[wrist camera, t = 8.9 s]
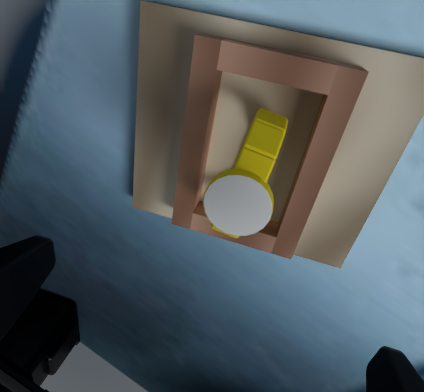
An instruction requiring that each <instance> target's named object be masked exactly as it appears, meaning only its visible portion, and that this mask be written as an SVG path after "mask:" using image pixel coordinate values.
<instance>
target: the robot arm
mask: <svg viewBox="0 0 424 392" xmlns="http://www.w3.org/2000/svg"><path fill="white" fill-rule="evenodd" d="M55 261H56V258H55V251H54V244H53V241H52V240H51V239H50V238H47V237H44V236H40V235H36V236H33V237H30V238H27V239H24V240H21V241H19V242H16V243H13V244H10V245H8V246H5V247H2V248H0V392H49V391H47V390H46V389H45V390H44V389H42V388H41V387H40V385H41V384H42V383H43V381H44V380H45V378H46V377H47V376H48V374H49V375H53V374H55V373H56V371H57V370H58V369H59V367H60V365H61V364H62V363H63V361H64V360H65V358H66V357H67V356H68V354H69V353H70V351H71V350H72V348H73V347H74V345H77V344H78V343H79V342H80V335H79V325H78V315H77V306H76V304H75V303H73V302H71V301H68V300H65V299H62V298H59V297H57V296H54V295H51V294H48V293H45V292H42V291H39V288H40V287H41V285H42V284H43V282H44V281H45V279H46V278H47V277H48V275H49V274H50V272H51V271H52V269H53V267H54V265H55ZM366 392H424V380H423V379H422V377H421V376H420V375H419V373H418V372H417V371H416V369H415V368H414V367H413V365H412V364H411V363H410V361H409V360H408V359H407V357H406V356H405V355H404V354H403V353H402V352H401V351H399V350H396V349H393V348H390V347H387V346H383V347H381V348H380V349H379V350H378V352H377V353H376V354H375V356H374V357H373V358H372V359H371V361H370V362H369V363H368V366H367V369H366Z"/></svg>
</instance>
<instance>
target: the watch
mask: <svg viewBox="0 0 424 392" xmlns="http://www.w3.org/2000/svg"><path fill="white" fill-rule="evenodd" d="M287 124H288V120H287V118H286V117H283V116H281V115H278V114H276V113H273V112H271V111H268V110H265V109H263V108H260V109H258V111H257V113H256V115H255V118H254V120H253V122H252V124H251V127H250V129H249V131H248V134H247V136H246V139H245V141H244V143H243V146H242V148H241V150H240V153H239V155H238V158H237V160H236V163H235V165H234V167H233V169H228V170H225V171H223V172H220V173H219V174H217V175H216V176H215V177H214V178H213V179H212V180H211V182H210V183H209V185H208V187H207V189H206V190H205V192H204V197H203V207H204V212H205V214H206V216H207V217H208V219H209V221H210V222H211V228H212V229H214V230H217V231H219V232H222V233H224V234H226V235H229V236H231V237H234V238H239V237H240V236H247V235H251V234H254V233H257V232H258V231H260V230H261V229H263V228H264V227H265V226H266V224H267V223H268V222H269V221H270V219H271V215H272V212H273V206H274V199H273V193H272V191H271V188H270V186H269V184H268V183H267V181H268V178H269V176H270V173H271V171H272V169H273V166H274V164H275V160H276V158H277V156H278V153H279V150H280V148H281V145H282V142H283V139H284V136H285V133H286V129H287Z"/></svg>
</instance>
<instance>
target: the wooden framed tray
mask: <svg viewBox="0 0 424 392" xmlns="http://www.w3.org/2000/svg"><path fill="white" fill-rule="evenodd" d="M260 108H263V109H265V110H268V111H271V112H273V113H276V114H278V115H281V116H283V117H286V118H287V120H288V124H287V129H286V133H285V136H284V139H283V142H282V145H281V148H280V150H279V153H278V156H277V158H276V160H275V164H274V166H273V169H272V171H271V173H270V176H269V178H268V181H267V183H268V184H269V186H270V188H271V191H272V193H273V199H274V206H273V212H272V215H271V219H270V221H269V222H268V223H267V224H266V226H265V227H264V228H263V229H261V230H260V231H258V232H257V233H254V234H251V235H247V236H240V237H239V238H234V237H231V236H229V235H226V234H224V233H222V232H219V231H217V230H214V229H212V228H211V222H210V221H209V219H208V217H207V216H206V214H205V212H204V207H203V197H204V192H205V190H206V189H207V187H208V185H209V183H210V182H211V180H212V179H213V178H214V177H215V176H216V175H217V174H219V173H220V172H223V171H225V170H228V169H233V167H234V165H235V163H236V160H237V158H238V155H239V153H240V150H241V148H242V146H243V143H244V141H245V139H246V136H247V134H248V131H249V129H250V127H251V124H252V122H253V120H254V118H255V115H256V113H257V111H258V109H260ZM423 115H424V58H423V57H418V56H413V55H408V54H403V53H398V52H393V51H389V50H384V49H379V48H374V47H369V46H364V45H359V44H355V43H350V42H345V41H340V40H335V39H330V38H325V37H320V36H316V35H311V34H306V33H301V32H296V31H291V30H286V29H281V28H277V27H272V26H267V25H262V24H257V23H252V22H247V21H243V20H238V19H233V18H228V17H223V16H218V15H213V14H208V13H204V12H199V11H194V10H189V9H184V8H179V7H174V6H169V5H165V4H160V3H155V2H150V1H142V0H140V22H139V49H138V75H137V101H136V128H135V154H134V180H133V206H132V207H135V208H138V209H141V210H145V211H148V212H151V213H155V214H158V215H162V216H165V217H168V218H172V224H175V225H178V226H181V227H185V228H188V229H192V230H195V231H198V232H202V233H205V234H208V235H212V236H215V237H218V238H222V239H225V240H229V241H232V242H235V243H239V244H242V245H245V246H249V247H252V248H255V249H259V250H262V251H265V252H269V253H272V254H276V255H279V256H282V257H286V258H289V259H291V258H292V256H293V254H294V255H297V256H300V257H304V258H307V259H311V260H314V261H317V262H321V263H324V264H328V265H331V266H334V267H338V268H341V266H342V264H343V262H344V260H345V259H346V257H347V255H348V253H349V251H350V249H351V248H352V246H353V244H354V242H355V240H356V238H357V237H358V235H359V233H360V231H361V229H362V227H363V225H364V224H365V222H366V220H367V218H368V216H369V214H370V213H371V211H372V209H373V207H374V205H375V203H376V201H377V200H378V198H379V196H380V194H381V192H382V190H383V189H384V187H385V185H386V183H387V181H388V179H389V177H390V176H391V174H392V172H393V170H394V168H395V166H396V165H397V163H398V161H399V159H400V157H401V155H402V154H403V152H404V150H405V148H406V146H407V144H408V142H409V141H410V139H411V137H412V135H413V133H414V131H415V130H416V128H417V126H418V124H419V122H420V120H421V118H422V117H423Z"/></svg>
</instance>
